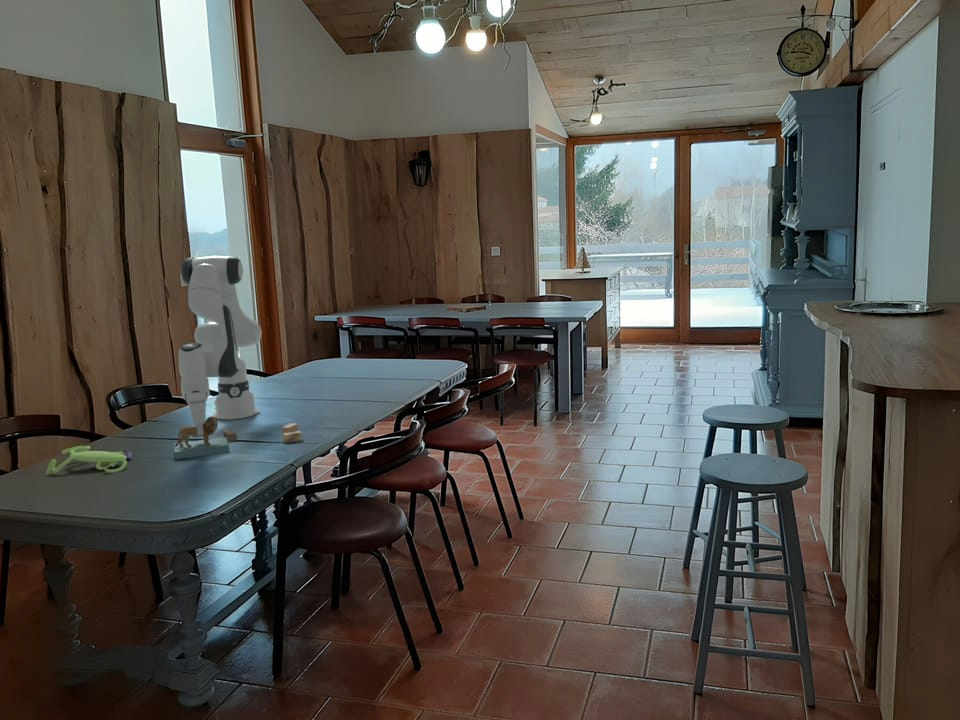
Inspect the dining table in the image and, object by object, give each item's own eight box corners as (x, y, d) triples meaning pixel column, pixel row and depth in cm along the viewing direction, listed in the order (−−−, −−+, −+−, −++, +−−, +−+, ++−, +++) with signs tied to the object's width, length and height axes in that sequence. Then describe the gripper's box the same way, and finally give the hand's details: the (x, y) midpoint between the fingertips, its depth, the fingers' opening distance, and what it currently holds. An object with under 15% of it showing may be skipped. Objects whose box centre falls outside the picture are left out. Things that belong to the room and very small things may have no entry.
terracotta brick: (291, 431, 290) (290, 423, 289) (298, 431, 289) (297, 423, 289) (282, 435, 284) (281, 427, 284) (289, 435, 283) (289, 427, 283)
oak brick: (285, 443, 273) (285, 435, 272) (283, 441, 275) (282, 433, 275) (302, 440, 276) (301, 432, 275) (299, 438, 278) (299, 430, 278)
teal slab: (175, 450, 269) (174, 443, 269) (227, 443, 275) (226, 436, 275) (175, 459, 258) (174, 452, 258) (229, 452, 264) (228, 444, 264)
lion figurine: (218, 439, 271) (215, 414, 270) (221, 442, 267) (218, 417, 265) (173, 446, 265) (170, 420, 263) (175, 450, 260) (172, 423, 258)
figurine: (70, 459, 265) (68, 443, 264) (147, 457, 264) (145, 441, 263) (37, 476, 247) (34, 459, 246) (119, 474, 245) (116, 457, 244)
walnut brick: (223, 439, 283) (222, 431, 282) (232, 437, 284) (231, 429, 284) (228, 442, 278) (227, 434, 277) (237, 440, 280) (236, 432, 279)
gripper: (185, 387, 272) (189, 426, 274) (186, 398, 253) (190, 440, 255) (204, 385, 274) (208, 423, 276) (206, 396, 255) (211, 437, 258)
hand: (200, 431), depth 266 cm, fingers open, 8 cm apart
